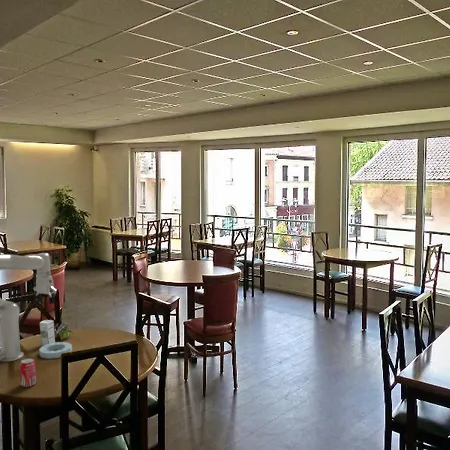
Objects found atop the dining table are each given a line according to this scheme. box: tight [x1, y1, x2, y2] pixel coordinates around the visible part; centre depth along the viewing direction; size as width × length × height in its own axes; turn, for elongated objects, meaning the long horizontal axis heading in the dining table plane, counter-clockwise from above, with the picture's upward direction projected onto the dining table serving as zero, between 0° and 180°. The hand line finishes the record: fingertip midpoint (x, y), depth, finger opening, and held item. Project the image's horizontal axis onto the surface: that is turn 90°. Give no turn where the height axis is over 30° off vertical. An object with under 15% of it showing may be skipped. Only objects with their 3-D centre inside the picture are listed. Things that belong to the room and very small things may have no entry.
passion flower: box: [54, 321, 74, 341], centre depth 296 cm, size 11×11×12 cm
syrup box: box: [39, 319, 56, 347], centre depth 283 cm, size 6×6×14 cm
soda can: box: [19, 357, 37, 388], centre depth 229 cm, size 7×7×12 cm
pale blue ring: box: [38, 341, 73, 360], centre depth 270 cm, size 17×17×3 cm
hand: (45, 302), depth 281 cm, fingers open, 9 cm apart
